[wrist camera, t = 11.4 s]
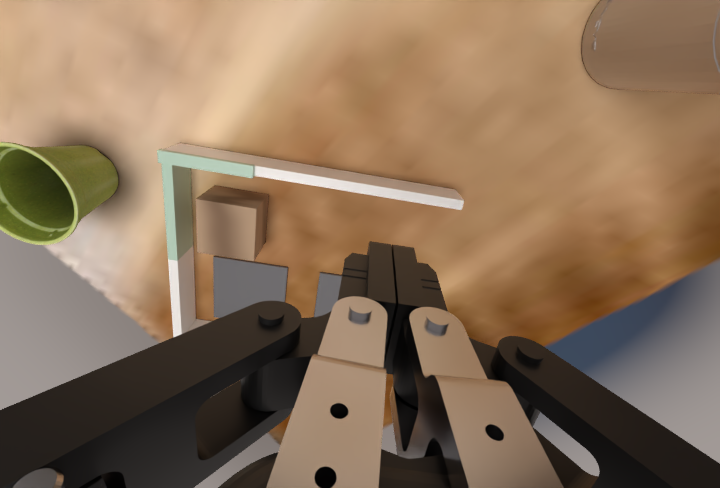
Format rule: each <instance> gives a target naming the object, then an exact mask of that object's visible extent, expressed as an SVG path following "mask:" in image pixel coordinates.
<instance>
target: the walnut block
mask: <svg viewBox="0 0 720 488" xmlns="http://www.w3.org/2000/svg"><path fill="white" fill-rule="evenodd" d="M268 197H269V194H263V193H257V192H251V191H245V190H239V189H233V188H227V187H221V186H213V187H212V188H210V189H209V190H208V191H206V192H205V193H203V194H202V195H201V196H199V197H198V198H196V224H197V252H198V253H205V254H211V255H217V256H224V257H230V258H237V259H243V260H249V261H254V260H255V259H256V257H257V255H258V254H259V252H260V250H261V249H262V247H263V246H264V244H265V242H266V228H267V213H268Z"/></svg>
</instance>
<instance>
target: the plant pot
mask: <svg viewBox="0 0 720 488" xmlns="http://www.w3.org/2000/svg"><path fill="white" fill-rule="evenodd" d="M117 187H118V175H117V172H116V169H115V167H114V165H113V164H112V162H111V161H110V160H109V159H108V158H106V157H105V156H103V155H102V154H101V153H100V152H99V151H98V150H96V149H94V148H92V147H89V146H84V145H77V146H56V147H28V146H23V145H20V144H16V143H10V142H0V229H1V230H2V231H3V232H5V233H6V234H8V235H10V236H12V237H14V238H16V239H18V240H21V241H24V242H27V243H31V244H36V245H50V244H55V243H58V242H61V241H62V240H64V239H66V238H67V237H69V236H70V235H71V234H72V233H73V232H74V230H75V229H76V227H77V225H78V223H79V222H80V220H81V219H82V218H83V217H84V216H86V215H87V214H88V213H90V212H91V211H92V210H94V209H95V208H96V207H98V206H99V205H100V204H102V203H103V202H104V201H106V200H107V199H109V198H110V197H111V196H112V195H113V194H114V192H115V191H116V189H117Z"/></svg>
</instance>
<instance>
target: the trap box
mask: <svg viewBox="0 0 720 488" xmlns="http://www.w3.org/2000/svg"><path fill="white" fill-rule="evenodd" d="M157 155H158V163H162V178H163V192H164V206H165V221H166V235H167V249H168V264H169V278H170V292H171V306H172V321H173V335H174V337H176V336H178V335H181V334H183V333H185V332H188V331H190V330H193V329H195V328H197V327H200V326H202V325H205V324H207V323H209V322H212V321H207V320H200V319H196V305H195V277H194V249H193V221H192V192H191V168H193V169H199V170H205V171H211V172H217V173H224V174H230V175H236V176H242V177H248V178H253V177H254V176H259V177H265V178H271V179H277V180H283V181H289V182H295V183H301V184H307V185H313V186H319V187H325V188H331V189H337V190H343V191H349V192H355V193H361V194H367V195H373V196H379V197H385V198H392V199H398V200H404V201H410V202H416V203H422V204H428V205H434V206H440V207H446V208H452V209H458V210H462V207H463V203H464V200H463V199H462V197H461V196H460V195H459V193H458V192H457V191H456V190H455V189H450V188H444V187H438V186H432V185H426V184H420V183H414V182H408V181H402V180H396V179H391V178H385V177H379V176H373V175H367V174H361V173H355V172H349V171H343V170H337V169H331V168H325V167H320V166H314V165H308V164H302V163H296V162H290V161H284V160H278V159H272V158H266V157H260V156H254V155H249V154H243V153H237V152H231V151H225V150H219V149H213V148H207V147H201V146H195V145H189V144H183V143H179V144H176V145H173V146H170V147H168V148H165V149H159V150H157ZM213 263H214V317H218V318H221V317H224V316H226V315H228V314H231V313H233V312H236V311H238V310H240V309H243V308H245V307H247V306H250V305H252V304H255V303H258V302H262V301H281V302H285V295H286V284H287V274H288V267H284V266H278V265H271V264H265V263H258V262H252V261H245V260H238V259H232V258H225V257H219V256H214V257H213ZM341 279H342V275H337V274H330V273H324V272H320V277H319V285H318V292H317V299H316V306H315V314H314V317H318V316H322V315H325V314H327V313H329V312H330V311H332V309H333V306H334V304H335V303H336V302H337V301H338V296H339V290H340V284H341Z"/></svg>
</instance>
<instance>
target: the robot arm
mask: <svg viewBox="0 0 720 488" xmlns="http://www.w3.org/2000/svg"><path fill="white" fill-rule="evenodd" d="M582 57H583V62H584V65H585V68H586V70H587V72H588V73H589V75H590V76H591V78H593V79H594V80H595V81H596V82H597V83H598V84H601V85H603V86H605V87H607V88H613V89H625V90H643V91H663V92H684V93H705V94H720V0H601V1H600V2H599V3H598V5H597V6H596V8H595V9H594V11H593V12H592V14H591V16H590V18H589V20H588V22H587V24H586V28H585V31H584V35H583V40H582ZM438 282H439V281H438V278H437V275H436V272H435V271H434V270H433V269H432V268H431V267H430V266H429V265H428V264H424V263H417V259H416V255H415V250H414V248H412V247H405V246H398V245H392V247H391V244H384V243H378V242H371V241H370V242H369V247H368V253H367V255H363V254H356V253H352V254H351V255H349V256H348V257H347V258H346V259H345V262H344V268H343V273H342V279H341V284H340V290H339V296H338V301H337V302H336V303H335V304H334V306H333V309H332V311H330V312H329V313H327V314H325V315H322V316H318V317H311V318H301V314H300V312H299V311H298V310H297V309H296V308H295V307H294V306H292V305H290V304H288V303H285V302H281V301H262V302H258V303H255V304H252V305H250V306H247V307H245V308H243V309H240V310H238V311H236V312H233V313H231V314H228V315H226V316H224V317H221V318H219V319H216V320H214V321H212V322H209V323H207V324H205V325H202V326H200V327H197V328H195V329H193V330H190V331H188V332H185V333H183V334H181V335H178V336H176V337H174V338H171V339H169V340H166V341H164V342H162V343H159V344H157V345H154V346H152V347H150V348H148V349H145V350H143V351H140V352H138V353H135V354H133V355H131V356H128V357H126V358H124V359H121V360H119V361H116V362H114V363H112V364H109V365H107V366H104V367H102V368H100V369H97V370H95V371H92V372H90V373H88V374H86V375H83V376H81V377H79V378H76V379H73V380H71V381H69V382H66V383H64V384H61V385H59V386H57V387H54V388H52V389H50V390H47V391H45V392H42V393H40V394H38V395H35V396H33V397H31V398H28V399H26V400H23V401H21V402H19V403H16V404H14V405H11V406H9V407H7V408H4V409H2V410H0V488H194V487H195V486H196V485H198V484H199V483H200V482H202V481H203V480H204V479H206V478H207V477H208V476H210V475H211V474H212V473H214V472H215V471H216V470H218V469H219V468H220V467H222V466H223V465H224V464H226V463H227V462H228V461H230V460H231V459H232V458H234V457H235V456H236V455H238V454H239V453H240V452H242V451H243V450H244V449H246V448H247V447H248V446H250V445H251V444H252V443H254V442H255V441H257V440H258V439H259V438H261V437H262V436H263V435H264V434H266V433H267V432H269V431H270V430H271V429H273V428H274V427H275V426H277V425H278V424H279V423H281V422H282V421H283V420H285V419H286V418H287V417H288V416H289V414H290V413H291V411H292V409H293V408H294V409H293V412H292V415H291V417H290V420H289V423H288V426H287V429H286V432H285V435H284V438H283V441H282V443H281V446H280V449H279V452H278V453H274V454H271V455H269V456H266V457H263V458H261V459H259V460H257V461H255V462H253V463H251V464H250V465H248V466H246V467H245V468H243V469H242V470H240V471H239V472H237V473H236V474H234V475H233V476H232V477H231V478H229V479H228V480H227V481H226V482H224V483H223V484H222V485H221V486H220V487H218V488H720V464H719V463H718V462H716V461H715V460H713V459H712V458H710V457H709V456H707V455H706V454H704V453H703V452H701V451H700V450H698V449H697V448H695V447H694V446H692V445H691V444H689V443H688V442H686V441H685V440H683V439H682V438H680V437H679V436H677V435H676V434H674V433H673V432H671V431H670V430H668V429H667V428H665V427H664V426H662V425H661V424H659V423H658V422H656V421H655V420H653V419H652V418H650V417H649V416H647V415H646V414H644V413H643V412H641V411H640V410H638V409H637V408H635V407H634V406H632V405H631V404H629V403H628V402H626V401H624V400H623V399H622V398H620V397H619V396H617V395H616V394H614V393H612V392H611V391H610V390H608V389H607V388H605V387H603V386H602V385H600V384H599V383H597V382H596V381H595V380H593V379H592V378H590V377H589V376H587V375H586V374H584V373H583V372H581V371H580V370H578V369H577V368H575V367H574V366H572V365H571V364H569V363H567V362H566V361H564V360H563V359H561V358H560V357H558V356H557V355H555V354H554V353H552V352H551V351H549V350H548V349H546V348H545V347H543V346H542V345H540V344H538V343H536V342H534V341H532V340H529V339H526V338H523V337H518V336H508V337H505V338H502V339H501V340H500V341H499V344H498V346H497V348H495V347H492V346H489V345H487V344H484V343H481V342H478V341H476V340H473V339H471V338H469V337H468V335H467V333H466V331H465V329H464V326H463V325H462V323H461V322H460V321H459V319H457V318H456V317H455V316H454V315H452V314H450V313H449V312H448V311H447V308H446V304H445V301H444V298H443V294H442V291H441V288H440V284H439V283H438ZM386 373H387V374H393V385H392V389H391V393H390V404H391V412H392V419H393V427H394V435H395V442H396V450H397V455H395V454H393V453H390V452H387V451H385V450H382V449H381V443H382V430H383V415H384V401H385V386H386ZM239 380H240V381H239ZM237 381H238V382H237ZM234 383H235V384H234ZM232 384H233V385H232ZM229 386H230V387H229ZM227 387H228V388H227ZM225 388H226V389H225ZM222 390H223V391H222ZM220 391H221V392H220ZM218 392H219V393H218ZM217 393H218V394H217ZM215 394H216V395H215ZM213 395H214V396H213ZM210 397H211V398H210ZM540 412H541V413H542V414H544V415H545V416H546V417H547V418H549V419H550V420H551V421H552V422H554V423H555V424H556V425H557V426H559V427H560V428H561V429H562V430H563V431H565V432H566V433H567V434H568V435H570V436H571V437H572V438H573V439H575V440H576V441H577V442H578V443H580V444H581V445H582V446H583V447H585V448H586V449H587V450H588V451H589V452H590V453H591V454H592V455H593V456H594V458H595V459H596V461H597V463H598V465H599V469H600V474H599V476H593V475H590V474H588V473H587V472H585V471H584V470H582V469H581V468H580V467H579V466H578V465H577V464H575V463H574V462H573V461H572V460H571V459H569V458H568V457H567V456H566V455H565V454H564V453H562V452H561V451H560V450H559V449H558V448H556V447H555V446H554V445H553V444H552V443H551V442H550V441H548V440H547V439H546V438H545V437H544V436H543V435H541V434H540V433H539V432H538V431H537V430H536V429H534V428H533V425H534V423H535V421H536V419H537V417H538V415H539V413H540Z"/></svg>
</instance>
